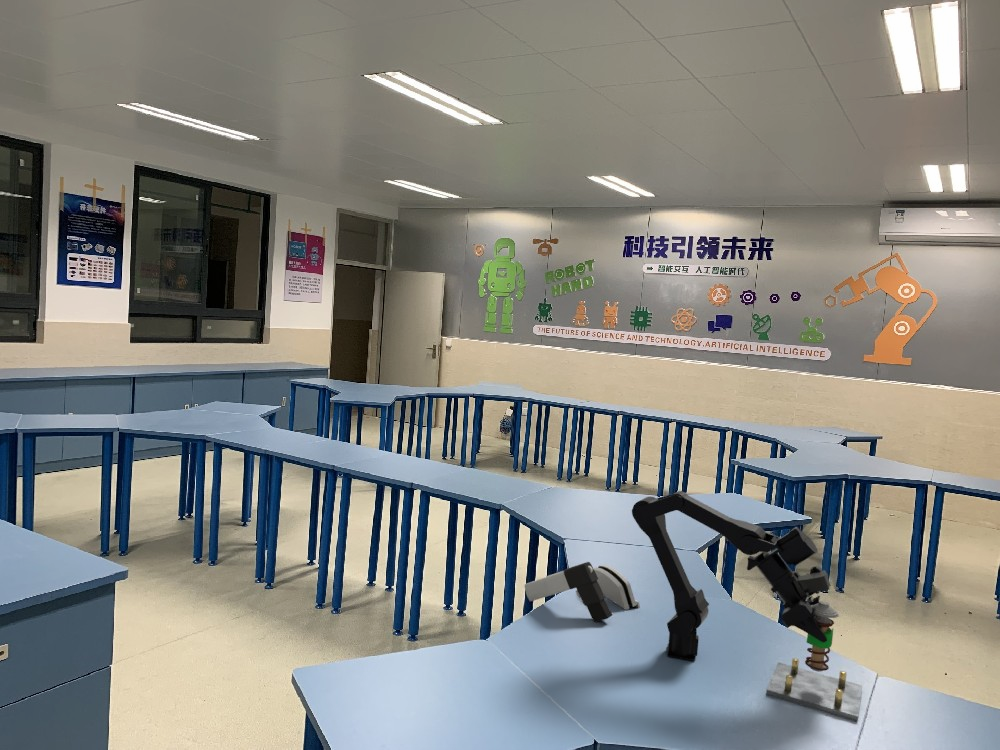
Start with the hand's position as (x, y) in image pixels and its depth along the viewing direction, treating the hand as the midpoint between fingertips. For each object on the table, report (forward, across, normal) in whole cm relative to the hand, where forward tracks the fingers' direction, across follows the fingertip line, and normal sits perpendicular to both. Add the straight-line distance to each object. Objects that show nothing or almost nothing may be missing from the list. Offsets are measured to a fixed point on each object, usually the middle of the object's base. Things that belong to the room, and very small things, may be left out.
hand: (826, 637), depth 160 cm
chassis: (+8, 0, +10) cm, 13 cm away
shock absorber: (+5, 0, +6) cm, 8 cm away
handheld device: (-36, +6, +56) cm, 67 cm away
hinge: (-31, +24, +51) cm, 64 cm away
